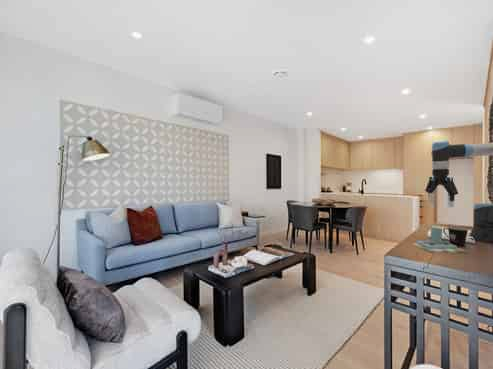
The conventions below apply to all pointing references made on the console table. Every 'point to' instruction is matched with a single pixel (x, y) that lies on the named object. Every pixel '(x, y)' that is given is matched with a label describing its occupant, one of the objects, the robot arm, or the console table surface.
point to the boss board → (439, 249)
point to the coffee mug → (457, 236)
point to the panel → (426, 244)
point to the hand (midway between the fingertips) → (440, 205)
